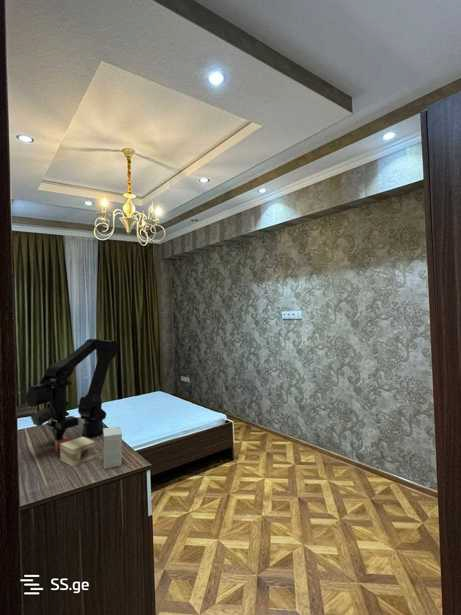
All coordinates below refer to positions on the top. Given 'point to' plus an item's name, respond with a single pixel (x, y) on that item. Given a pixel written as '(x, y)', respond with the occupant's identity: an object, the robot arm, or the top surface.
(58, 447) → the pin
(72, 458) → the block
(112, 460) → the small box
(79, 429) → the top surface
